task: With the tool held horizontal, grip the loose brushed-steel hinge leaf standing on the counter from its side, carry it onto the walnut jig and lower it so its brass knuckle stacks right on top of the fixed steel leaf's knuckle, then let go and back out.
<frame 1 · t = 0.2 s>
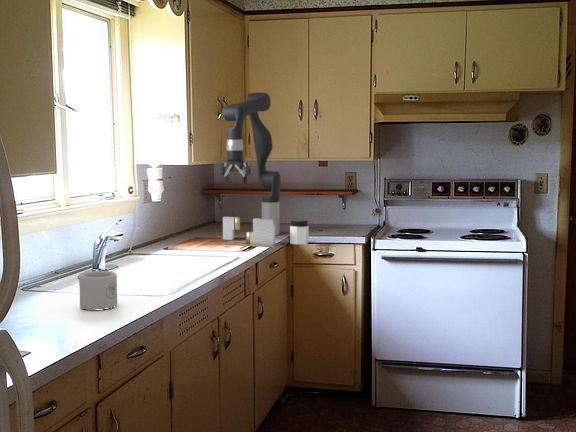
hand: (235, 184, 317), 29 cm above the counter, tool pointing down, fingers open, 8 cm apart
fixed leaf: (249, 243, 322), resting on jig board
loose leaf: (229, 241, 337), on the counter
mug: (101, 306, 207), on the counter
jar: (299, 245, 325), on the counter
jig board: (251, 246, 322), on the counter
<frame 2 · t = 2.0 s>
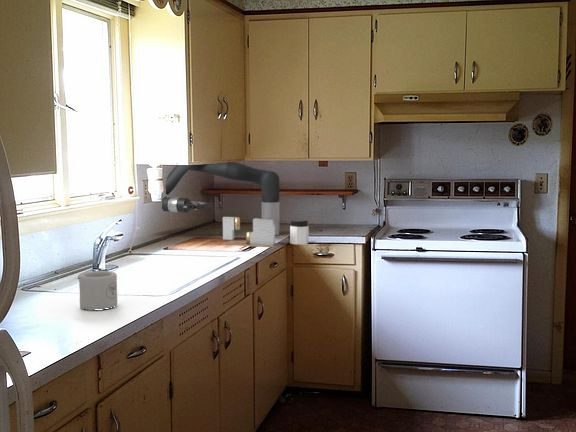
hand: (208, 206, 339), 17 cm above the counter, tool horizontal, fingers open, 8 cm apart
nothing on the counter moved.
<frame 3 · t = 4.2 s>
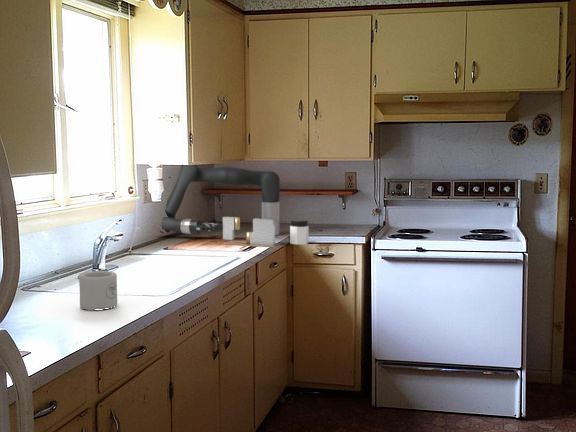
hand: (221, 227, 338), 7 cm above the counter, tool horizontal, fingers open, 8 cm apart
nothing on the counter moved.
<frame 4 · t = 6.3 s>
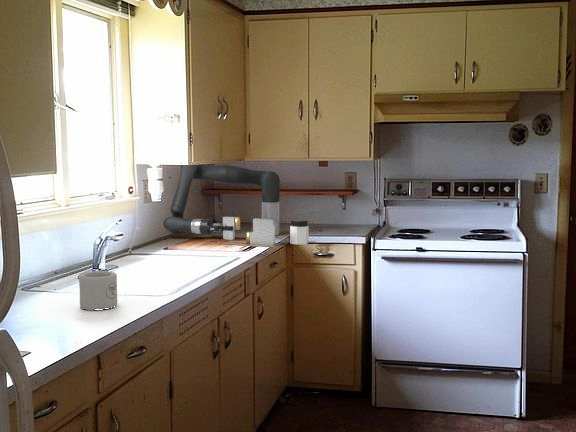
hand: (234, 228, 336), 7 cm above the counter, tool horizontal, fingers closed on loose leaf, 2 cm apart
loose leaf: (229, 241, 337), on the counter, touching gripper
everything else where it was.
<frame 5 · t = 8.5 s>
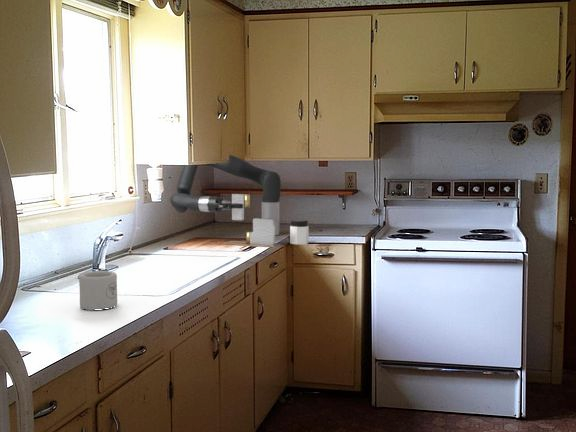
hand: (243, 205, 322), 19 cm above the counter, tool horizontal, fingers closed on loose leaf, 2 cm apart
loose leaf: (238, 219, 323), point 12 cm above the counter, touching gripper
everything else where it was.
when the fingers open (9 cm above the counter, at t = 10.7 s): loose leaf drops 1 cm, resting on jig board.
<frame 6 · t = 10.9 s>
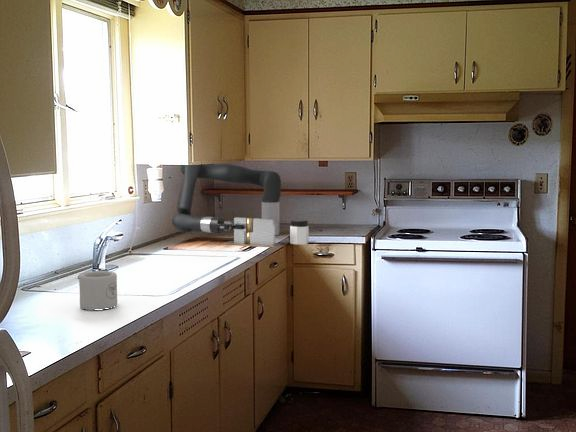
hand: (245, 226, 322), 9 cm above the counter, tool horizontal, fingers open, 4 cm apart
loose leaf: (241, 243, 323), point 1 cm above the counter, touching jig board
everything else where it was.
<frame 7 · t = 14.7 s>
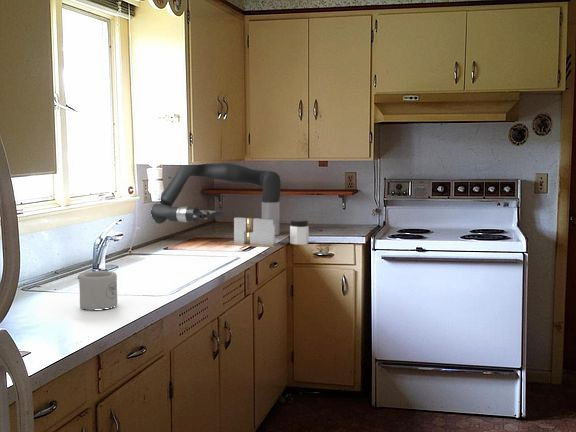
hand: (218, 215, 326), 14 cm above the counter, tool horizontal, fingers open, 8 cm apart
nothing on the counter moved.
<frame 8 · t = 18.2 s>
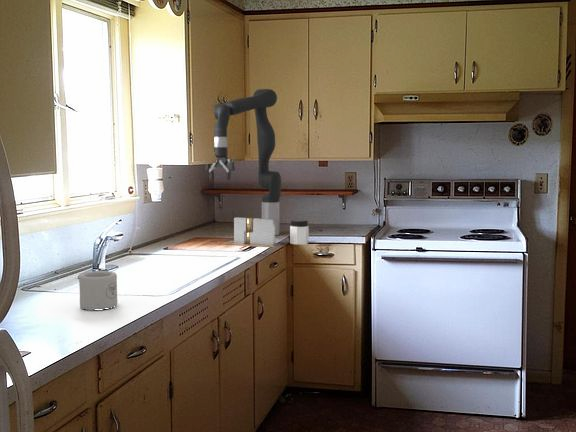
hand: (219, 180, 333), 30 cm above the counter, tool pointing down, fingers open, 8 cm apart
nothing on the counter moved.
at the end: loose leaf 0.0 cm from the target spot on the fixed leaf, point 0.0 cm above the fixed leaf's base; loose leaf tilted 0°; the gripper is holding nothing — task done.
